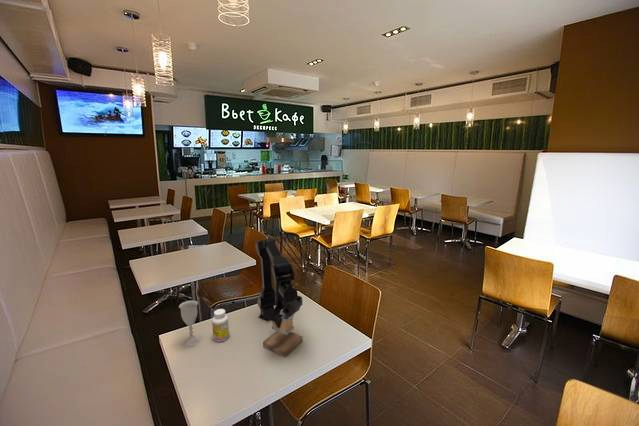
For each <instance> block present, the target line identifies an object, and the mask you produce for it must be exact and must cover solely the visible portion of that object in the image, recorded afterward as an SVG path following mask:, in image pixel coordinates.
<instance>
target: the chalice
mask: <svg viewBox="0 0 639 426" xmlns="http://www.w3.org/2000/svg"><path fill="white" fill-rule="evenodd" d="M198 303H199V302H198V301H197V300H185V301H184V302H181V303H180V304H179V306H178V308H179V309H180V317H181V319H182V321H183V323H185V324H186V326H189V327H188V330H189V332H188V334H189V336H188V338H186V342H185V346H186V347H193V346H196V345H197V344H198V343H199V339H198V338H197V337H196V336H195V335H193V333H194V331H193V325H194V324H195V322H196V319H197V317H198Z"/></svg>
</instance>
